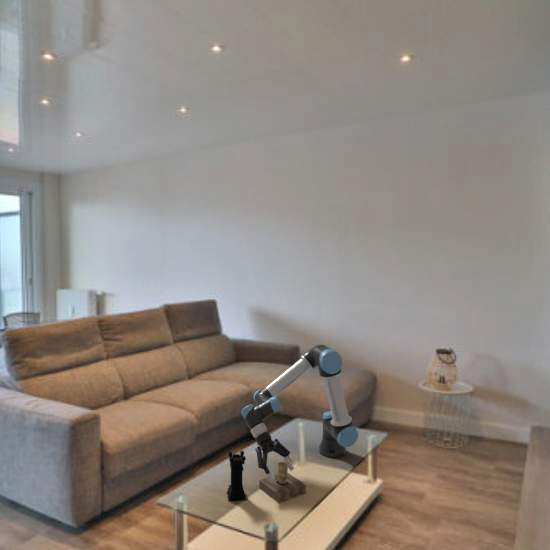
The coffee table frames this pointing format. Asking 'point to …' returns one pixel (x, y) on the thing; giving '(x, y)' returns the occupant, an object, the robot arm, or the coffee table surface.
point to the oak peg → (282, 473)
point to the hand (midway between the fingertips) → (283, 474)
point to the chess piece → (236, 477)
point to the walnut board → (282, 488)
